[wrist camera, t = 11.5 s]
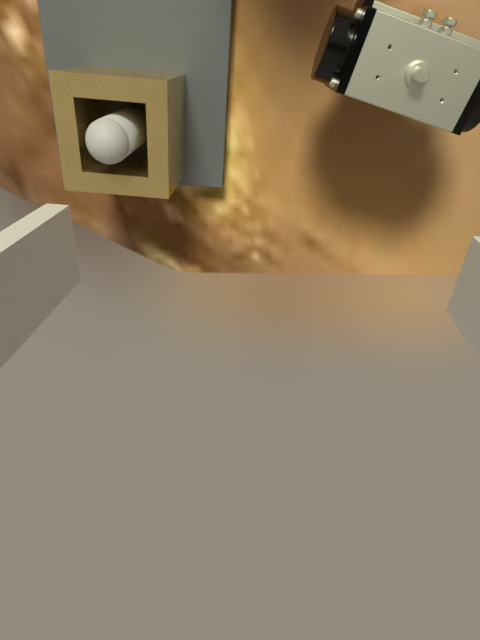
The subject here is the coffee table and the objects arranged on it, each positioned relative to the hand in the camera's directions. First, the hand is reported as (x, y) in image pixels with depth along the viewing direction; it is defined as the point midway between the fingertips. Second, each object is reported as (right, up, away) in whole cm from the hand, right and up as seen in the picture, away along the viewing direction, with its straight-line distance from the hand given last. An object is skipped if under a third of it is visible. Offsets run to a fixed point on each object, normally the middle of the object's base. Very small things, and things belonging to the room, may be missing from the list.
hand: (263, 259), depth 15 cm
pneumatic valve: (+11, +19, +22) cm, 31 cm away
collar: (-10, +15, +23) cm, 29 cm away
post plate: (-9, +21, +21) cm, 31 cm away
